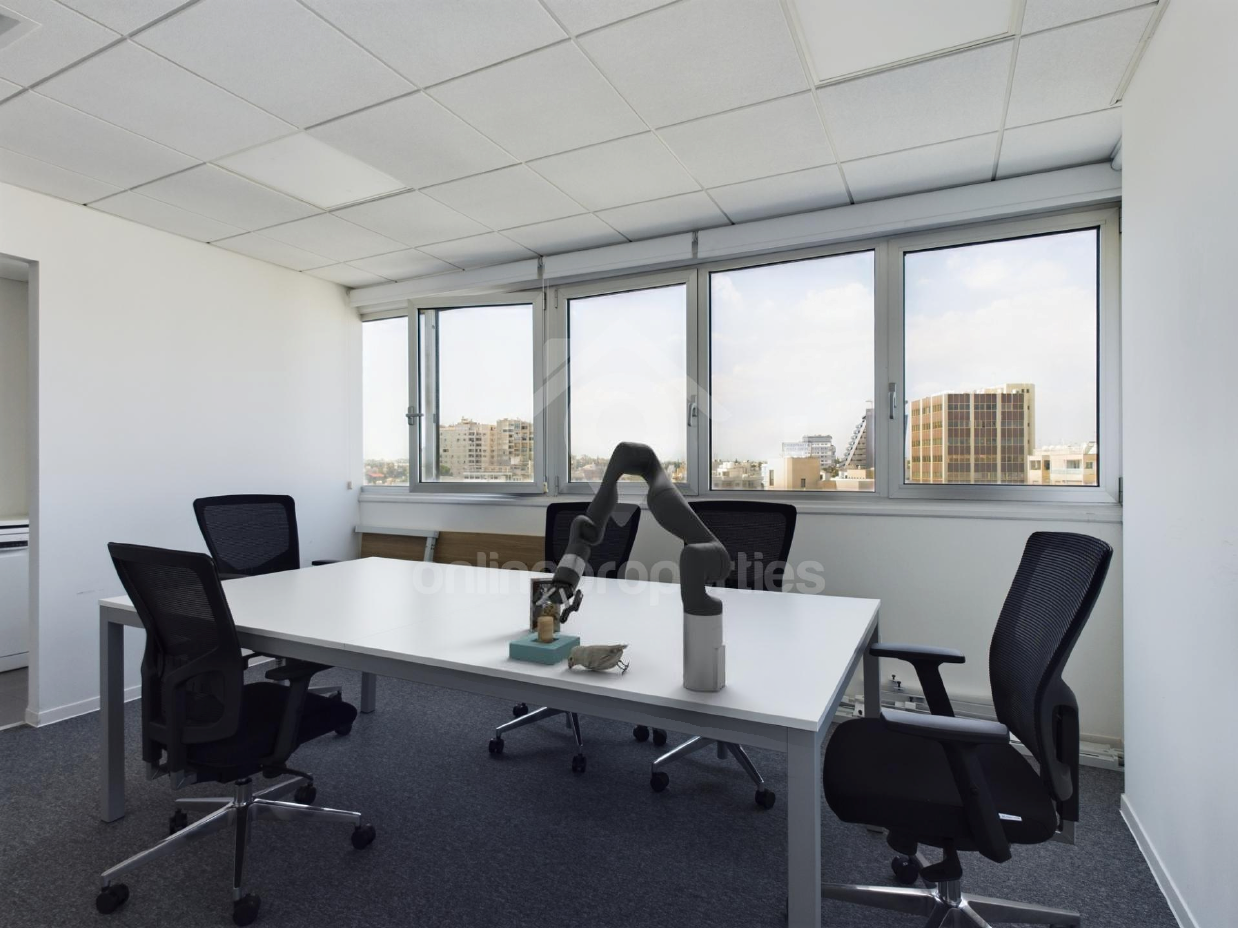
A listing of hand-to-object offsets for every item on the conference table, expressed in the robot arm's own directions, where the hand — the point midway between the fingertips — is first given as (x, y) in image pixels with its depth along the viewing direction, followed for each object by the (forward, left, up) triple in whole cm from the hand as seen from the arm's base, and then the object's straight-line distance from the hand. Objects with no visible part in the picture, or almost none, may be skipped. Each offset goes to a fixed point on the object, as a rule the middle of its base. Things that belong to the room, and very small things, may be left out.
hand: (548, 620), depth 179 cm
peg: (0, +1, -9) cm, 9 cm away
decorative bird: (-20, +8, -9) cm, 23 cm away
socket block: (0, +1, -9) cm, 9 cm away
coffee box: (+15, -23, -9) cm, 29 cm away
